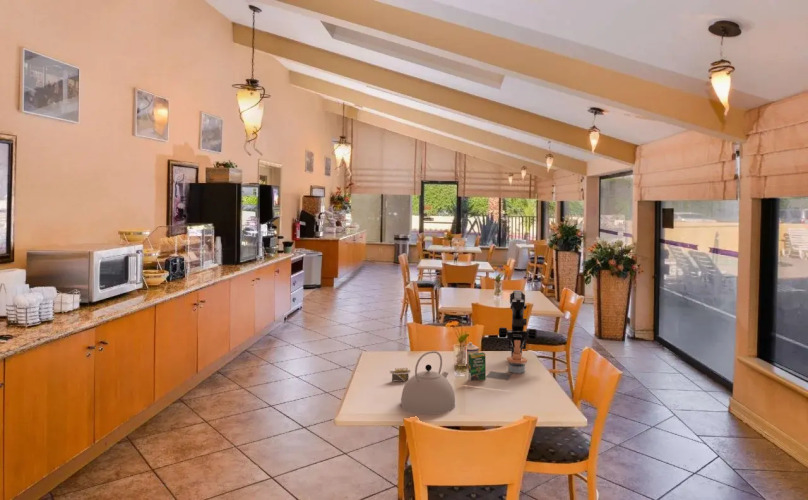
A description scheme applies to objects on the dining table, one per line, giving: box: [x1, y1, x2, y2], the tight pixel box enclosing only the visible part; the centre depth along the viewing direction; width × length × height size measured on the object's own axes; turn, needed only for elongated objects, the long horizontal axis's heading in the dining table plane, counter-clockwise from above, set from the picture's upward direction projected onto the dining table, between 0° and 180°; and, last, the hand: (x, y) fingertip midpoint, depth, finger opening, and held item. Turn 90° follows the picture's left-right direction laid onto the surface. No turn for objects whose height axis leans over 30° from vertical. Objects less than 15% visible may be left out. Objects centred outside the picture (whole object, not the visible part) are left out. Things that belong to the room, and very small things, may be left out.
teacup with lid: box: [466, 341, 480, 366], centre depth 303 cm, size 12×9×12 cm
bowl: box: [508, 362, 526, 374], centre depth 288 cm, size 8×8×4 cm
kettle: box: [400, 350, 456, 415], centre depth 241 cm, size 25×23×23 cm
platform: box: [389, 367, 411, 382], centre depth 272 cm, size 12×18×7 cm, turn 103°
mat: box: [486, 371, 513, 381], centre depth 281 cm, size 11×11×1 cm
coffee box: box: [468, 352, 487, 381], centre depth 274 cm, size 8×3×13 cm, turn 107°
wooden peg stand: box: [506, 340, 528, 364], centre depth 288 cm, size 10×10×10 cm
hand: (517, 347), depth 286 cm, fingers closed on wooden peg stand, 3 cm apart
